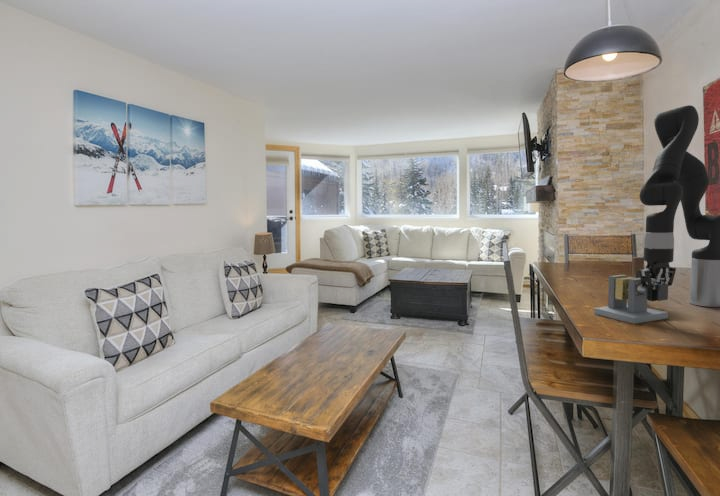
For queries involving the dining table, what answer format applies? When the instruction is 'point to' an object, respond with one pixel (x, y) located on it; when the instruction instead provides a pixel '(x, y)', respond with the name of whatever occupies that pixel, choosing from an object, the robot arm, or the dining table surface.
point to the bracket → (629, 304)
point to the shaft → (660, 291)
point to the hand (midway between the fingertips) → (656, 299)
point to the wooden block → (637, 267)
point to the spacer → (622, 288)
